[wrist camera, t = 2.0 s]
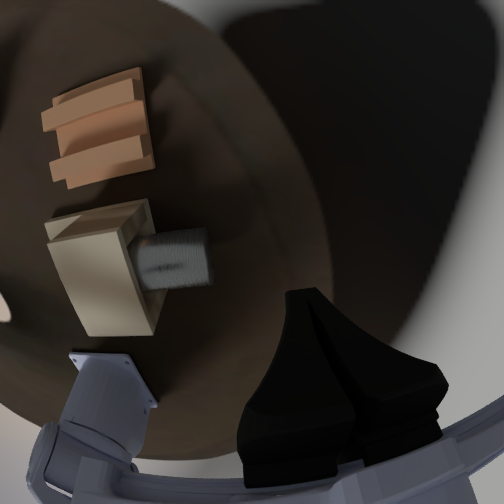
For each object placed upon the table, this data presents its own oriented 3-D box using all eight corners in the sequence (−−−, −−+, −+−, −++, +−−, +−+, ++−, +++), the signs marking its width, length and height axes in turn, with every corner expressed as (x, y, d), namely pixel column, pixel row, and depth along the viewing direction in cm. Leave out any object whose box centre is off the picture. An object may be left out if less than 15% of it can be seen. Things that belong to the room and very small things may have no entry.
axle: (206, 218, 18) (200, 241, 15) (215, 266, 20) (211, 296, 17) (78, 238, 18) (55, 261, 15) (93, 279, 20) (74, 306, 17)
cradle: (155, 167, 17) (146, 174, 16) (71, 187, 17) (57, 195, 16) (141, 67, 14) (130, 62, 12) (56, 98, 14) (39, 99, 12)
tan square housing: (169, 284, 22) (153, 335, 16) (78, 291, 22) (49, 335, 16) (147, 198, 18) (116, 231, 13) (50, 218, 18) (8, 251, 13)
